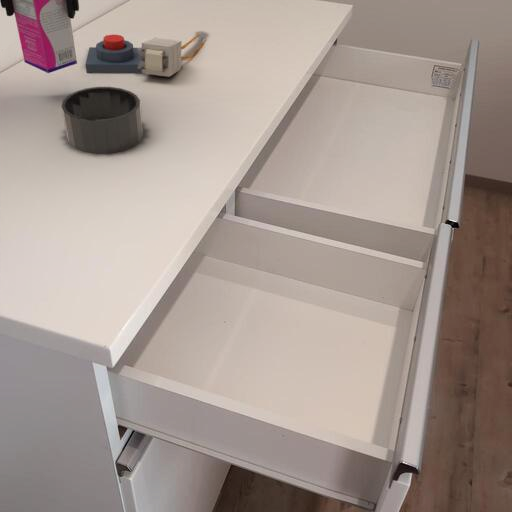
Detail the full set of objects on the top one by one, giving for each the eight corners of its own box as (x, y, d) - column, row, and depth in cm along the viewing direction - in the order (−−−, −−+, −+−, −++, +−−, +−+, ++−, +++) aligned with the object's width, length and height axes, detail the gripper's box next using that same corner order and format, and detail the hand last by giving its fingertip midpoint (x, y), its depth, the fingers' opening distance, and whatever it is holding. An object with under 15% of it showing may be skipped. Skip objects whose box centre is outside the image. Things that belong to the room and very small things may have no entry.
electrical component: (179, 52, 115) (180, 26, 113) (207, 55, 115) (208, 30, 112) (137, 73, 95) (136, 43, 92) (170, 78, 94) (170, 48, 91)
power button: (103, 51, 97) (102, 41, 96) (105, 44, 100) (104, 34, 99) (124, 51, 98) (123, 41, 96) (125, 44, 100) (124, 34, 99)
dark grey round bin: (64, 160, 75) (56, 121, 71) (73, 124, 83) (66, 86, 79) (142, 159, 77) (139, 120, 73) (143, 123, 85) (140, 86, 81)
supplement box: (53, 53, 88) (41, -24, 81) (78, 64, 86) (68, -15, 78) (22, 62, 84) (7, -18, 77) (47, 74, 82) (34, -7, 75)
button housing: (86, 73, 97) (83, 54, 95) (90, 56, 103) (88, 37, 101) (143, 73, 98) (142, 54, 96) (144, 56, 104) (143, 38, 102)
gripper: (-66, -132, 65) (-28, 20, 76) (86, -121, 67) (101, 25, 79) (-48, -140, 70) (-15, 3, 82) (91, -129, 73) (104, 8, 85)
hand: (42, 13), depth 80 cm, fingers closed on supplement box, 8 cm apart
